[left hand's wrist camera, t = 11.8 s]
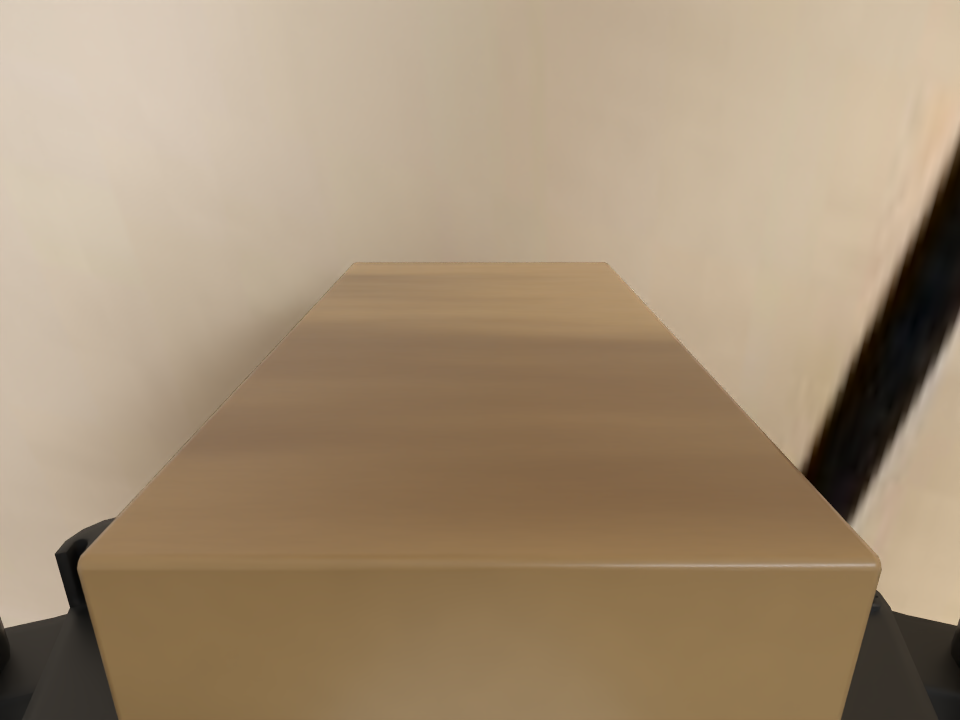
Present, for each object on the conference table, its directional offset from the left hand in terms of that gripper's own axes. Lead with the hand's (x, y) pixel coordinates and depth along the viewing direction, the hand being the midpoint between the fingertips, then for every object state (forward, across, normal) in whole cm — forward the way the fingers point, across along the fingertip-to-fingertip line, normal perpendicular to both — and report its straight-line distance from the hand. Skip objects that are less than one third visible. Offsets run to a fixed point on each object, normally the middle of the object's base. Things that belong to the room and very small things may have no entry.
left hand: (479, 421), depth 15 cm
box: (+1, 0, -7) cm, 7 cm away
